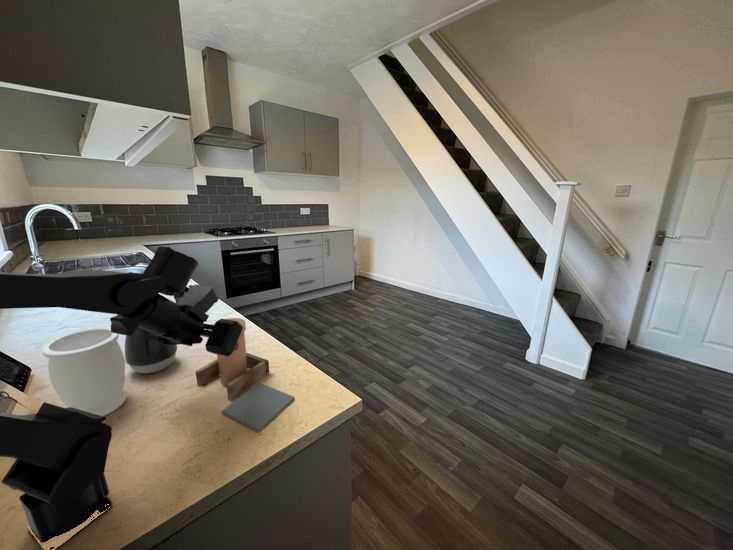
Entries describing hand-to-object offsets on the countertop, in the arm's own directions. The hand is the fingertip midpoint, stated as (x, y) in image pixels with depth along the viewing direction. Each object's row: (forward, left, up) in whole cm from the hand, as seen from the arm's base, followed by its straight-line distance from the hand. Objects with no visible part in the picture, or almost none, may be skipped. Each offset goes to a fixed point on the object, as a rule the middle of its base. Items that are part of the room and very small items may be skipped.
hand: (219, 344), depth 62 cm
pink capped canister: (+3, +1, -11) cm, 11 cm away
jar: (-16, +17, -11) cm, 25 cm away
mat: (-1, -11, -11) cm, 16 cm away
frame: (+3, +1, -11) cm, 11 cm away
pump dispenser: (-3, +22, -11) cm, 25 cm away
